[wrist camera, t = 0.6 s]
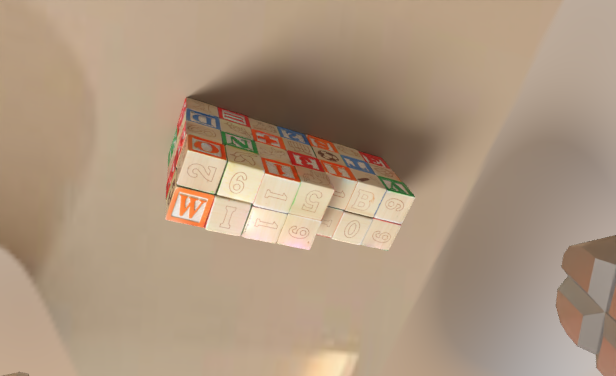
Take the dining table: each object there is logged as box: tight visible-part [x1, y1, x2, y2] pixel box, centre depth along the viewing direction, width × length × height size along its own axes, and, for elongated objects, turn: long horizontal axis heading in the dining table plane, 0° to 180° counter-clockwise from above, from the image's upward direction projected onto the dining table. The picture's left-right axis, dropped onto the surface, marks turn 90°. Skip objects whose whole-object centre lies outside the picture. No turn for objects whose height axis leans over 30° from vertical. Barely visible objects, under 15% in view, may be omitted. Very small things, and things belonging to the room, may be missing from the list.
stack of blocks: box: [166, 98, 415, 251], centre depth 49 cm, size 21×6×12 cm, turn 69°
